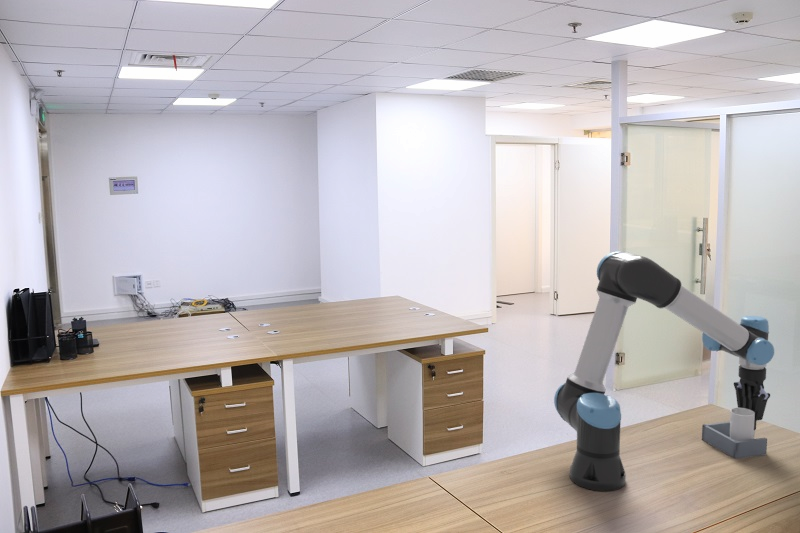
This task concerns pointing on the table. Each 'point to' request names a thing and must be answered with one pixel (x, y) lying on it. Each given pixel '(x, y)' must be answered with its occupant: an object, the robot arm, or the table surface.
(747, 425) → the mug
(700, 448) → the table surface
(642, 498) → the table surface
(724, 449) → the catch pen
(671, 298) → the robot arm
